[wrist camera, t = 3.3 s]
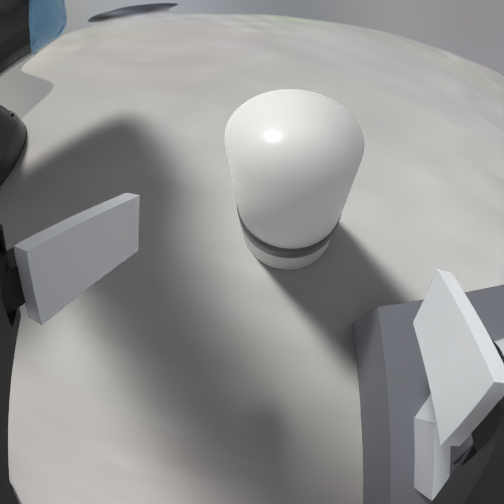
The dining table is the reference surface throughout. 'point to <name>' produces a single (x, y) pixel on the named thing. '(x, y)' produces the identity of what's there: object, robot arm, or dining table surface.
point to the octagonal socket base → (407, 402)
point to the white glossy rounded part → (291, 173)
